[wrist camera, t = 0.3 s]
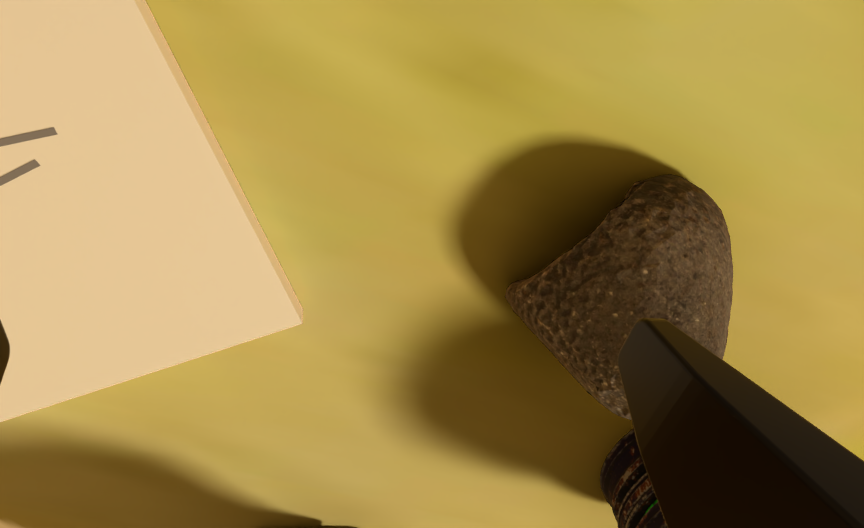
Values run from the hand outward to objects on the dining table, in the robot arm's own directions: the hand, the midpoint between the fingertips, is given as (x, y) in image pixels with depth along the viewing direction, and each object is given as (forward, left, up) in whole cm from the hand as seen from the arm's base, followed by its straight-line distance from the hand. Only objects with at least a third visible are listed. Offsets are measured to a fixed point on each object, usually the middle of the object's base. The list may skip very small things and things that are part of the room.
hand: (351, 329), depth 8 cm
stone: (-6, -14, -14) cm, 20 cm away
